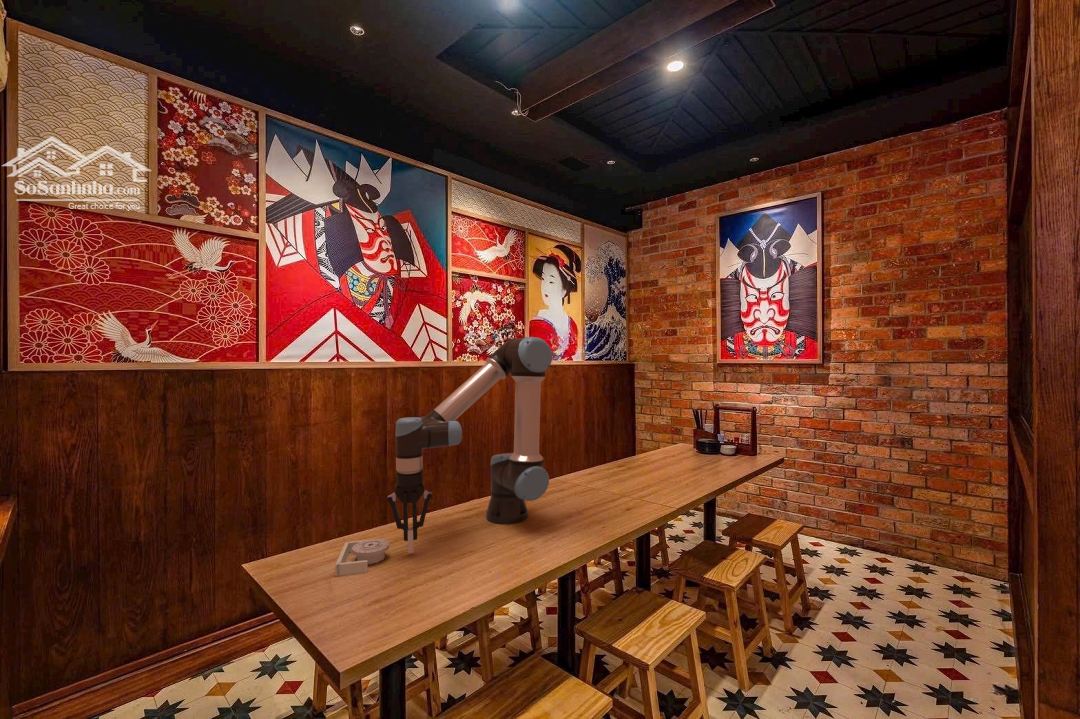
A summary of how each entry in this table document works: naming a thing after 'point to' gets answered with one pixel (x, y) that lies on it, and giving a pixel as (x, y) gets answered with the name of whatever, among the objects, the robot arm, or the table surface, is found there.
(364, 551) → the mechanical component
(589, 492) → the table surface
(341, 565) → the u-shaped bracket
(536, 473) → the robot arm
